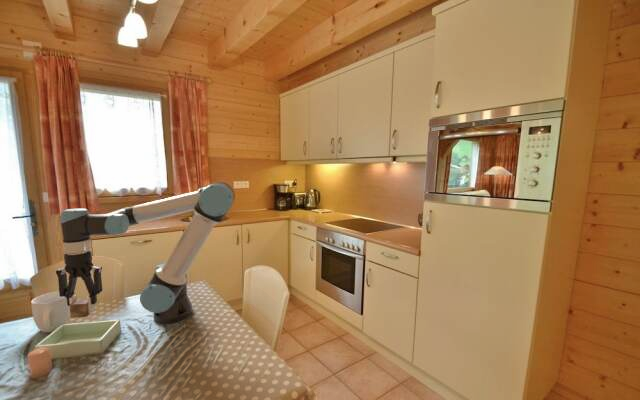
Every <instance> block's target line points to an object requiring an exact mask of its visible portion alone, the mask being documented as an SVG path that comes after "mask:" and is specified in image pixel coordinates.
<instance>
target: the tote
mask: <svg viewBox="0 0 640 400" xmlns="http://www.w3.org/2000/svg"><path fill="white" fill-rule="evenodd" d="M121 325H122V324H121V319H109V320H99V321H97V320H96V321H86V322H77V323H76V322H75V323H66V324H62V325H61V326H60V327H58V328H57V329H56V330H55V331H53V332H50V334H48V335H47V336H46V337H44V338H43V339H42V340H40V342H38V343H37V344H35V345H34V346H33V350H35V349H38V348H41V347H50V352H51V360H57V359H66V358H76V357H77V358H78V357H85V356H87V357H88V356H96V355H102V354H103V353H104V352H106V349H107V348H109V346H110V345H111V344H112V343H113V341H115V339H116V338H117V337H118V336H119V335H120V333H121V332H122V326H121Z"/></svg>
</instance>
